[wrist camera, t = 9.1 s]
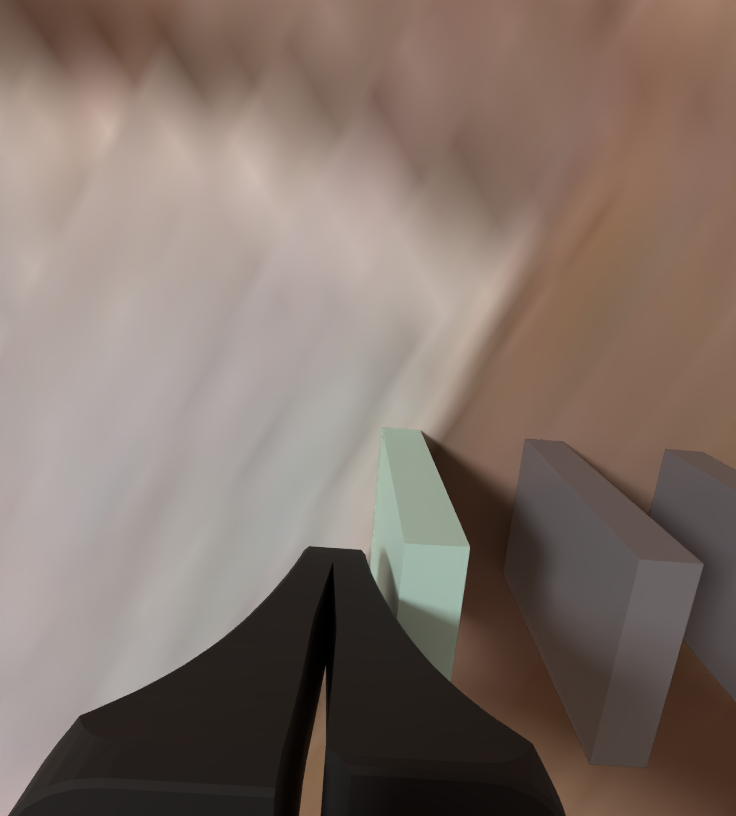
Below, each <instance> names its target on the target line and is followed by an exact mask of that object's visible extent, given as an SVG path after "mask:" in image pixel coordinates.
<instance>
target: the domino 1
mask: <svg viewBox="0 0 736 816" xmlns="http://www.w3.org/2000/svg"><path fill="white" fill-rule="evenodd" d="M703 565H704V564H703V563H702V562H701V561H700V560H699V559H697V558H696V557H695V556H694V555H693V554H692V553H691V552H689V551H688V550H687V549H686V548H685V547H684V546H682V545H681V544H680V543H679V542H678V541H677V540H676V539H674V538H673V537H672V536H671V535H670V534H669V533H668V532H666V531H665V530H664V529H663V528H662V527H661V526H659V525H658V524H657V523H656V522H655V521H654V520H653V519H651V518H650V517H649V516H648V515H647V514H646V513H644V512H643V511H642V510H641V509H640V508H639V507H638V506H636V505H635V504H634V503H633V502H632V501H631V500H630V499H628V498H627V497H626V496H625V495H624V494H623V493H621V492H620V491H619V490H618V489H617V488H616V487H615V486H613V485H612V484H611V483H610V482H609V481H608V480H606V479H605V478H604V477H603V476H602V475H601V474H600V473H598V472H597V471H596V470H595V469H594V468H593V467H592V466H590V465H589V464H588V463H587V462H586V461H585V460H583V459H582V458H581V457H580V456H579V455H578V454H577V453H575V452H574V451H573V450H572V449H571V448H570V447H569V446H567V445H566V444H565V443H564V442H562V441H549V440H535V439H525V443H524V449H523V455H522V461H521V467H520V473H519V479H518V485H517V491H516V497H515V503H514V509H513V515H512V521H511V527H510V533H509V539H508V545H507V551H506V557H505V563H504V569H503V574H504V577H505V579H506V581H507V583H508V585H509V588H510V590H511V592H512V594H513V596H514V599H515V601H516V603H517V605H518V607H519V610H520V612H521V614H522V616H523V618H524V621H525V623H526V625H527V627H528V629H529V632H530V634H531V636H532V638H533V640H534V643H535V645H536V647H537V649H538V651H539V654H540V656H541V658H542V660H543V662H544V665H545V667H546V669H547V671H548V673H549V676H550V678H551V680H552V682H553V684H554V687H555V689H556V691H557V693H558V696H559V698H560V700H561V702H562V704H563V707H564V709H565V711H566V713H567V715H568V718H569V720H570V722H571V724H572V726H573V729H574V731H575V733H576V735H577V737H578V740H579V742H580V744H581V746H582V748H583V751H584V753H585V755H586V757H587V759H588V762H589V764H590V765H607V766H624V767H641V768H647V765H648V761H649V758H650V754H651V750H652V747H653V743H654V740H655V736H656V733H657V729H658V725H659V722H660V718H661V715H662V711H663V708H664V704H665V701H666V697H667V693H668V690H669V686H670V683H671V679H672V676H673V672H674V668H675V665H676V661H677V658H678V654H679V651H680V647H681V643H682V640H683V636H684V633H685V629H686V626H687V622H688V619H689V615H690V611H691V608H692V604H693V601H694V597H695V594H696V590H697V586H698V583H699V579H700V576H701V572H702V569H703Z"/></svg>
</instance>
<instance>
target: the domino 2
mask: <svg viewBox="0 0 736 816" xmlns="http://www.w3.org/2000/svg"><path fill="white" fill-rule="evenodd" d="M649 517H650V518H651V519H653V520H654V521H655V522H656V523H657V524H658V525H659V526H661V527H662V528H663V529H664V530H665V531H666V532H668V533H669V534H670V535H671V536H672V537H673V538H674V539H676V540H677V541H678V542H679V543H680V544H681V545H682V546H684V547H685V548H686V549H687V550H688V551H689V552H691V553H692V554H693V555H694V556H695V557H696V558H697V559H699V560H700V561H701V562H702V563H703V564H704V565H703V569H702V572H701V576H700V579H699V583H698V586H697V590H696V594H695V597H694V601H693V604H692V608H691V611H690V615H689V619H688V622H687V626H686V629H685V633H684V636H683V641H684V642H685V643H686V645H687V646H688V647H689V648H690V649H691V650H692V652H693V653H694V654H695V655H696V656H697V658H698V659H699V660H700V661H701V662H702V663H703V665H704V666H705V667H706V668H707V669H708V670H709V672H710V673H711V674H712V675H713V676H714V678H715V679H716V680H717V681H718V682H719V683H720V685H721V686H722V687H723V688H724V689H725V691H726V692H727V693H728V694H729V695H730V696H731V698H732V699H733V700H734V701H735V702H736V470H735V469H733V468H731V467H729V466H727V465H725V464H724V463H722V462H720V461H718V460H716V459H714V458H713V457H711V456H709V455H707V454H705V453H703V452H695V451H682V450H669V449H665V453H664V457H663V461H662V465H661V469H660V473H659V478H658V482H657V486H656V490H655V494H654V498H653V502H652V506H651V510H650V515H649Z"/></svg>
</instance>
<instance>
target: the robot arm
mask: <svg viewBox="0 0 736 816" xmlns="http://www.w3.org/2000/svg"><path fill="white" fill-rule="evenodd" d="M325 666H326V751H325V765H324V779H323V793H322V807H321V816H566V815H565V812H564V809H563V806H562V804H561V801H560V799H559V796H558V794H557V792H556V789H555V787H554V785H553V783H552V781H551V779H550V777H549V775H548V773H547V771H546V769H545V767H544V765H543V763H542V761H541V759H540V757H539V755H538V753H537V751H536V750H535V748H534V746H533V744H532V743H531V742H529V741H528V740H526V739H525V738H523V737H522V736H520V735H519V734H518V733H516V732H515V731H513V730H512V729H510V728H509V727H507V726H506V725H504V724H503V723H501V722H500V721H498V720H497V719H495V718H494V717H492V716H491V715H489V714H488V713H487V712H485V711H484V710H483V709H482V708H480V707H479V706H478V705H477V704H475V703H474V702H473V701H472V700H470V699H469V698H468V697H467V696H465V695H464V694H463V693H462V692H461V691H460V690H458V689H457V688H456V687H455V686H454V685H453V684H452V683H451V682H450V681H449V680H448V679H447V678H446V677H445V676H444V675H442V674H441V673H440V672H439V671H438V670H437V669H436V668H435V667H434V666H433V665H432V664H431V662H430V661H429V660H428V659H427V658H426V657H425V656H424V655H423V653H422V652H421V651H420V650H419V649H418V647H417V646H416V645H415V644H414V642H413V641H412V640H411V639H410V637H409V636H408V635H407V633H406V632H405V630H404V629H403V628H402V626H401V625H400V623H399V622H398V620H397V619H396V617H395V616H394V614H393V612H392V611H391V609H390V607H389V606H388V604H387V602H386V601H385V599H384V597H383V595H382V593H381V591H380V590H379V588H378V586H377V584H376V582H375V580H374V577H373V575H372V573H371V571H370V568H369V566H368V563H367V560H366V556H365V554H364V553H363V552H362V550H355V549H340V548H326V547H311V546H309V547H308V548H306V549H305V550H304V551H303V553H302V555H301V556H300V558H299V559H298V561H297V562H296V563H295V565H294V566H293V567H292V569H291V570H290V571H289V573H288V574H287V575H286V576H285V578H284V579H283V580H282V581H281V582H280V583H279V585H278V586H277V587H276V588H275V589H274V590H273V592H272V593H271V594H270V595H269V596H268V597H267V598H266V599H265V600H264V601H263V602H262V603H261V604H260V605H259V606H258V607H257V608H256V609H255V610H254V611H253V612H252V613H251V614H250V615H249V616H248V617H247V618H246V619H245V620H244V621H243V622H241V623H240V624H239V625H238V626H237V627H236V628H235V629H233V630H232V631H231V632H230V633H228V634H227V635H226V636H225V637H224V638H222V639H221V640H220V641H219V642H217V643H216V644H214V645H213V646H212V647H210V648H209V649H207V650H206V651H204V652H203V653H201V654H200V655H198V656H197V657H195V658H194V659H193V660H191V661H190V662H188V663H186V664H185V665H183V666H182V667H180V668H178V669H176V670H175V671H173V672H171V673H169V674H168V675H166V676H164V677H162V678H160V679H159V680H157V681H155V682H153V683H151V684H149V685H147V686H145V687H143V688H141V689H139V690H137V691H135V692H133V693H131V694H129V695H127V696H124V697H122V698H120V699H118V700H115V701H113V702H111V703H109V704H106V705H104V706H102V707H100V708H97V709H95V710H93V711H90V712H88V713H85V714H83V715H80V716H79V717H78V718H77V720H76V721H75V722H74V724H73V725H72V726H71V728H70V729H69V730H68V731H67V732H66V734H65V735H64V736H63V737H62V738H61V740H60V741H59V742H58V743H57V745H56V746H55V747H54V749H53V750H52V751H51V753H50V754H49V755H48V757H47V758H46V759H45V761H44V762H43V764H42V765H41V767H40V768H39V770H38V771H37V773H36V774H35V776H34V777H33V779H32V780H31V782H30V783H29V785H28V786H27V788H26V789H25V791H24V792H23V794H22V796H21V797H20V799H19V800H18V802H17V803H16V805H15V806H14V808H13V809H12V811H11V812H10V814H9V815H8V816H299V811H300V802H301V794H302V785H303V778H304V772H305V766H306V760H307V755H308V750H309V745H310V740H311V735H312V731H313V726H314V721H315V716H316V711H317V706H318V701H319V696H320V691H321V686H322V681H323V676H324V671H325Z"/></svg>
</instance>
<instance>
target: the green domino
mask: <svg viewBox="0 0 736 816" xmlns="http://www.w3.org/2000/svg"><path fill="white" fill-rule="evenodd" d="M469 552H470V546H469V543H468V541H467V538H466V536H465V534H464V531H463V529H462V527H461V524H460V522H459V520H458V517H457V515H456V513H455V510H454V508H453V506H452V503H451V501H450V499H449V496H448V494H447V492H446V489H445V487H444V485H443V482H442V480H441V478H440V475H439V473H438V471H437V468H436V466H435V464H434V461H433V459H432V456H431V454H430V452H429V449H428V447H427V445H426V442H425V440H424V438H423V435H422V433H421V431H420V430H408V429H392V428H382V436H381V448H380V459H379V470H378V482H377V493H376V504H375V516H374V527H373V539H372V550H371V561H370V567H371V573H372V575H373V577H374V580H375V582H376V584H377V586H378V588H379V590H380V591H381V593H382V595H383V597H384V599H385V601H386V602H387V604H388V606H389V607H390V609H391V611H392V612H393V614H394V616H395V617H396V619H397V620H398V622H399V623H400V625H401V626H402V628H403V629H404V630H405V632H406V633H407V635H408V636H409V637H410V639H411V640H412V641H413V642H414V644H415V645H416V646H417V647H418V649H419V650H420V651H421V652H422V653H423V655H424V656H425V657H426V658H427V659H428V660H429V661H430V662H431V664H432V665H433V666H434V667H435V668H436V669H437V670H438V671H439V672H440V673H441V674H442V675H444V676H445V677H446V678H447V679H448V680H449V681H450V682H451V677H452V670H453V664H454V657H455V650H456V643H457V636H458V629H459V622H460V615H461V608H462V601H463V594H464V587H465V580H466V573H467V566H468V559H469Z"/></svg>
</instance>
